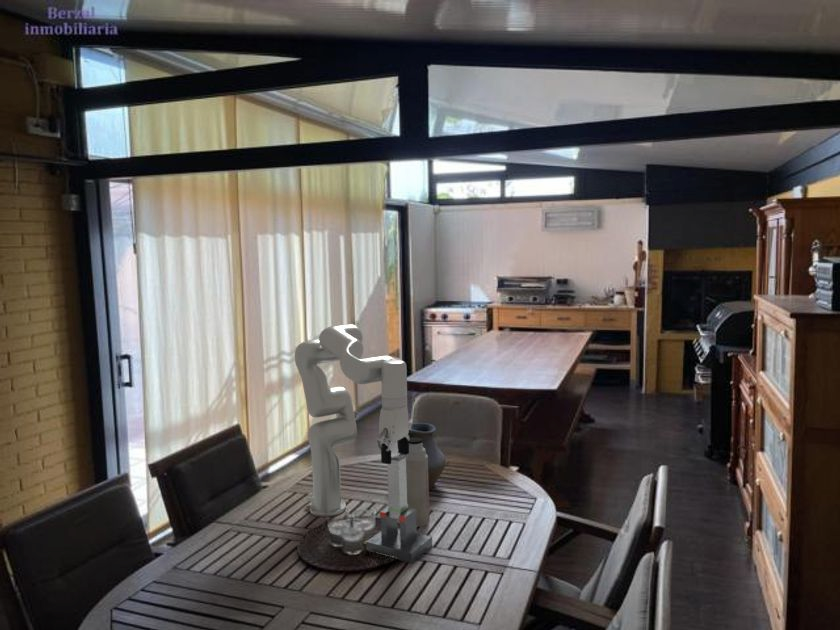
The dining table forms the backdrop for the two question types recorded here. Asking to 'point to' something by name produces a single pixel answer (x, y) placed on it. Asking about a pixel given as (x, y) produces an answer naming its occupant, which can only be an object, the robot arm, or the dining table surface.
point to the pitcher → (429, 450)
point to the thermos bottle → (418, 481)
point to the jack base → (399, 537)
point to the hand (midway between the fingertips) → (395, 458)
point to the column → (397, 485)
